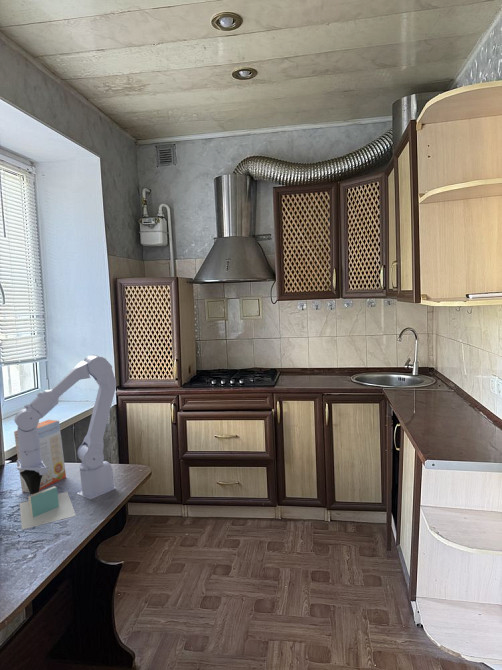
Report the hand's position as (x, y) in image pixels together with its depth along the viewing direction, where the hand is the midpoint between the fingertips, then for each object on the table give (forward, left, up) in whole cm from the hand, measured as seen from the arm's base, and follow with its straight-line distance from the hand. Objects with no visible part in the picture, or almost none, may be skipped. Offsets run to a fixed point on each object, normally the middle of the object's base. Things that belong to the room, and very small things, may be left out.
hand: (34, 493), depth 144 cm
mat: (-1, +4, -5) cm, 6 cm away
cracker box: (-11, -16, -5) cm, 20 cm away
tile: (0, +5, -5) cm, 7 cm away
